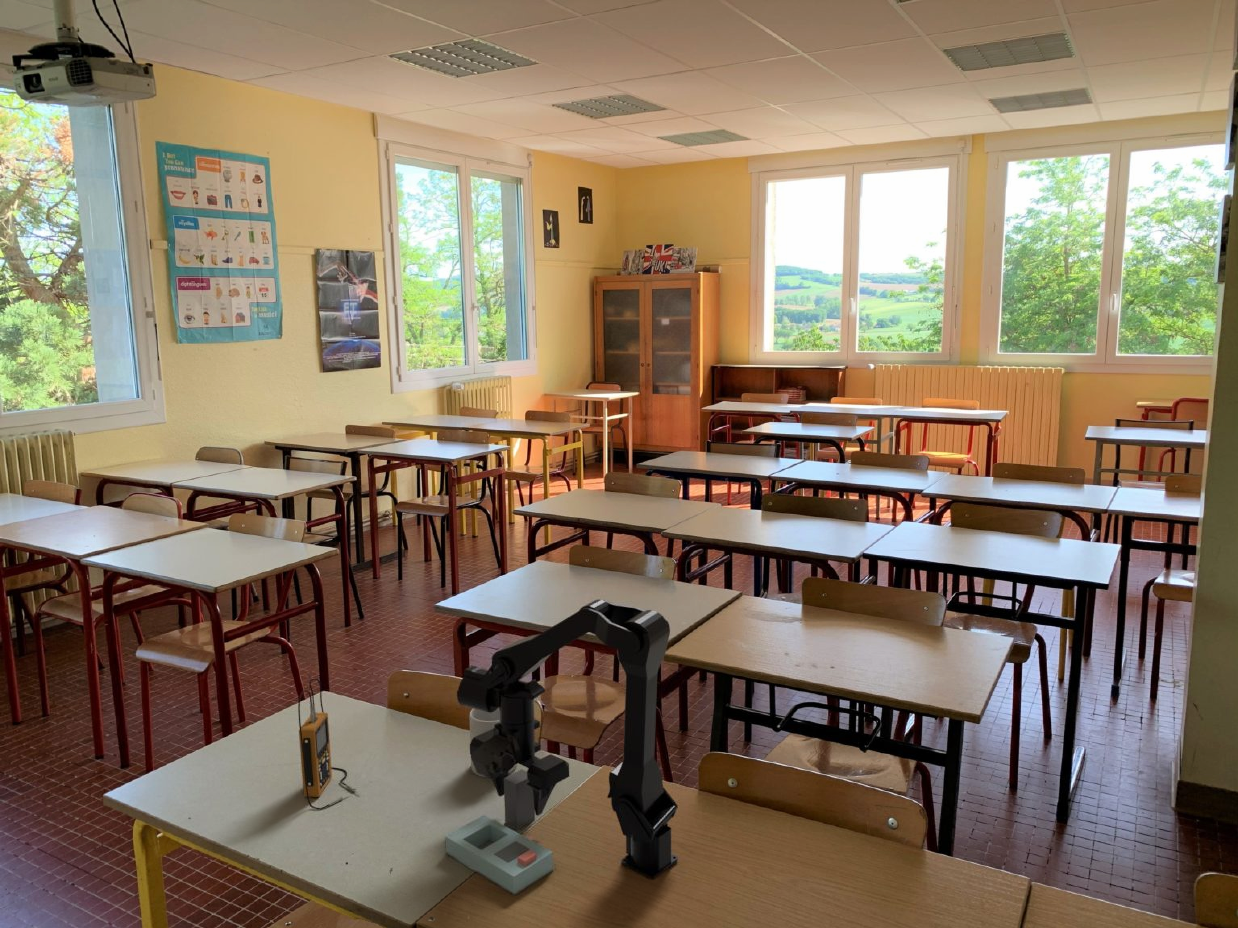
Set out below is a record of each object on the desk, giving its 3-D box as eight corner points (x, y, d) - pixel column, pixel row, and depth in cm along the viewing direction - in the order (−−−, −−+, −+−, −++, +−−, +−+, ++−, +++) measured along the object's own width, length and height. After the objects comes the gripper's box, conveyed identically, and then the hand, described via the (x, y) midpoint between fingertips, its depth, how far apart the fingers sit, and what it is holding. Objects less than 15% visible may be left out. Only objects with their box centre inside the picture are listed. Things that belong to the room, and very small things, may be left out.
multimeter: (353, 810, 157) (346, 700, 153) (295, 810, 157) (287, 700, 153) (377, 767, 171) (371, 667, 168) (324, 767, 171) (317, 667, 168)
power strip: (553, 869, 139) (552, 847, 139) (514, 895, 133) (513, 871, 133) (484, 831, 150) (484, 810, 149) (445, 853, 144) (444, 831, 143)
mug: (504, 781, 166) (502, 724, 164) (462, 773, 169) (460, 718, 167) (532, 751, 177) (530, 698, 175) (493, 744, 180) (491, 692, 178)
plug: (522, 812, 155) (521, 769, 154) (534, 818, 153) (533, 774, 152) (505, 822, 152) (503, 778, 151) (517, 829, 150) (515, 784, 149)
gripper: (442, 717, 150) (446, 805, 152) (519, 752, 138) (522, 847, 140) (493, 695, 158) (496, 779, 161) (570, 727, 146) (572, 816, 148)
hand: (519, 804), depth 152 cm, fingers open, 9 cm apart
